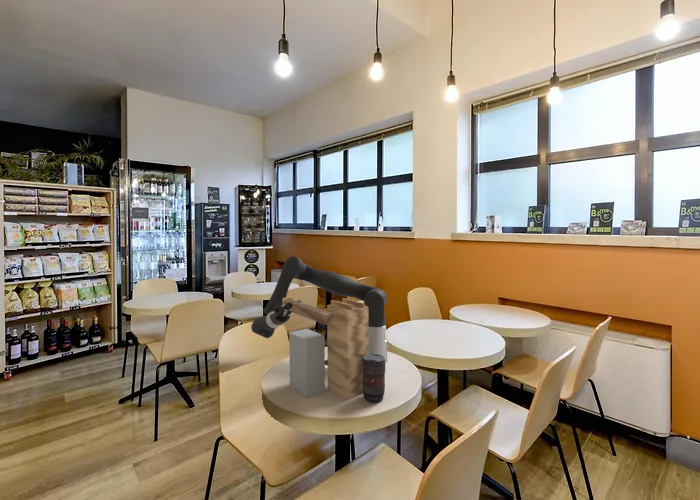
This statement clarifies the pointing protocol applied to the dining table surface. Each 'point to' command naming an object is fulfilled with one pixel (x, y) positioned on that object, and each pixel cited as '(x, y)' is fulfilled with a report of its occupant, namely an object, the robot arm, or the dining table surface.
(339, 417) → the dining table surface
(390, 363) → the dining table surface
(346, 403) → the dining table surface
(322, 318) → the walnut bar
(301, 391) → the grey block
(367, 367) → the camera lens
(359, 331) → the oak stand
